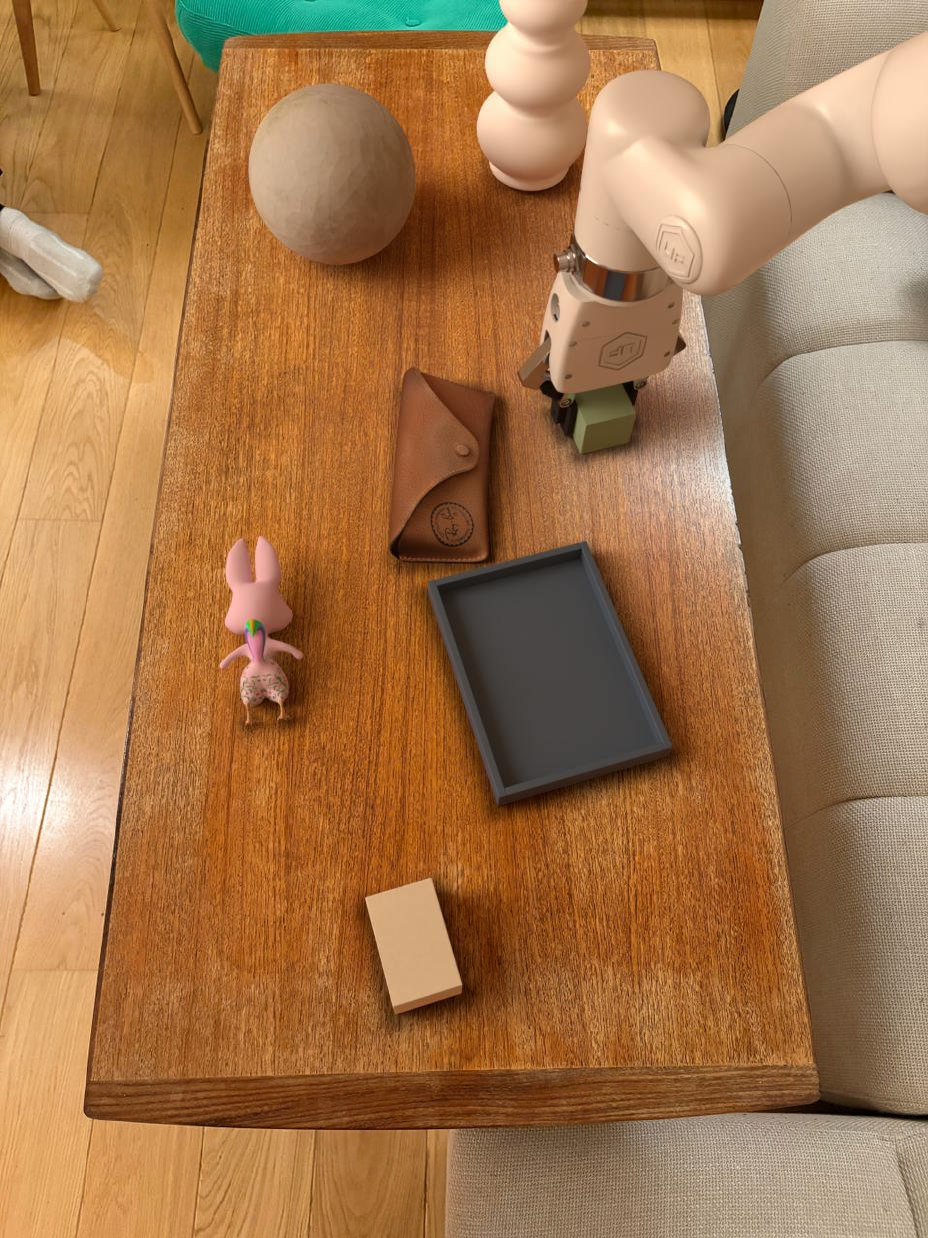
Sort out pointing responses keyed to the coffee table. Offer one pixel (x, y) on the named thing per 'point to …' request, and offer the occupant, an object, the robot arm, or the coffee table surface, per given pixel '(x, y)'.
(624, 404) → the sage pad
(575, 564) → the tray
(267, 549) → the rabbit figure
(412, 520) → the sunglasses case
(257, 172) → the decorative sphere
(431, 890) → the cream pad
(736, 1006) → the coffee table surface
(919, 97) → the robot arm
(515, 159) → the vase
